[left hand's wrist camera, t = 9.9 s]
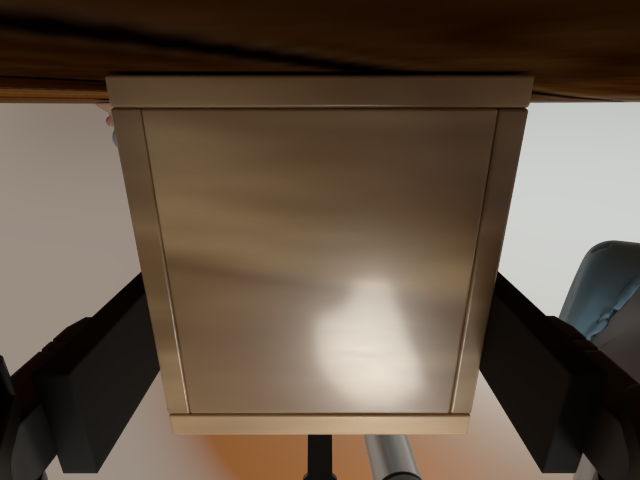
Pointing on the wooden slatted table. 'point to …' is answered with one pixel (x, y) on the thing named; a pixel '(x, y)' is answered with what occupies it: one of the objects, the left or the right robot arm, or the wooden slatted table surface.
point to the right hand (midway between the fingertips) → (319, 411)
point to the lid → (321, 423)
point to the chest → (319, 234)
